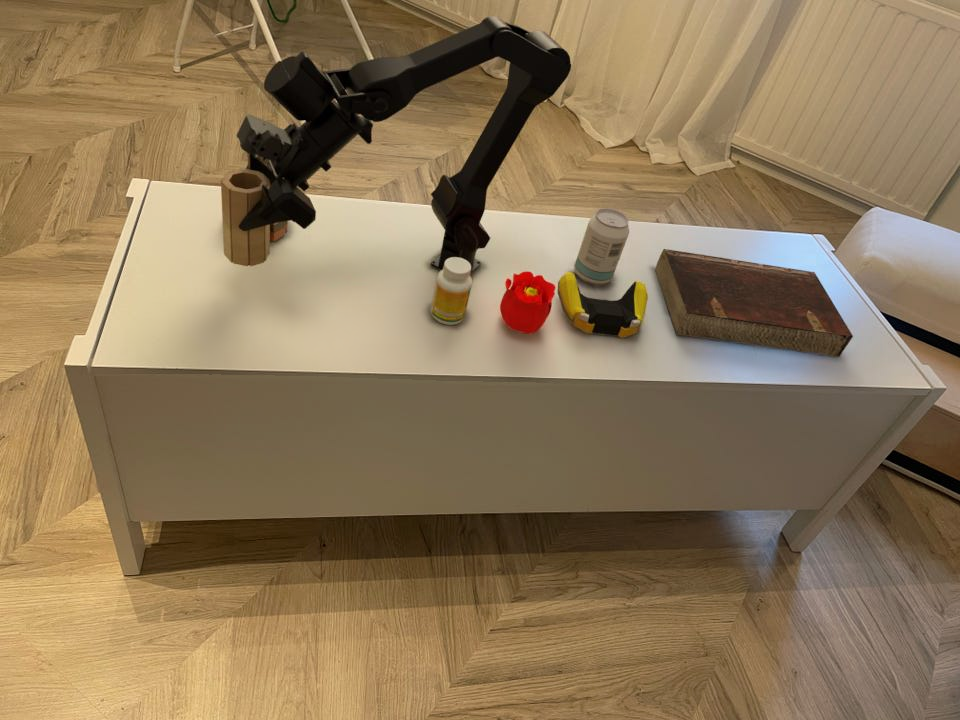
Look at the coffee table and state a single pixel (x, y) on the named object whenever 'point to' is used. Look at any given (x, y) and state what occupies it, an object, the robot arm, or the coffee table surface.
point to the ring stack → (277, 230)
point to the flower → (527, 302)
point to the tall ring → (237, 202)
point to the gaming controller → (603, 309)
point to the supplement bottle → (452, 291)
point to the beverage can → (602, 246)
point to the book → (750, 303)
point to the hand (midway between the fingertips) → (236, 215)
